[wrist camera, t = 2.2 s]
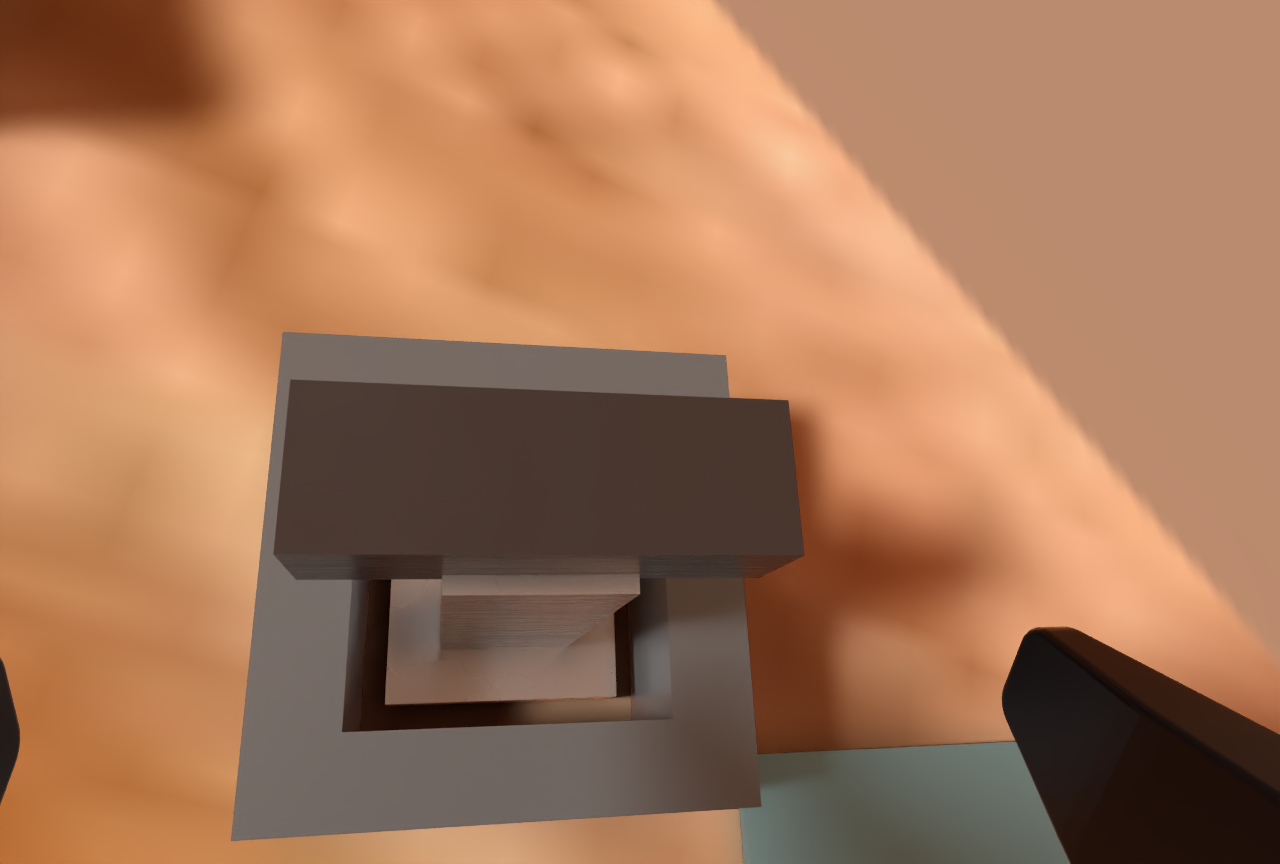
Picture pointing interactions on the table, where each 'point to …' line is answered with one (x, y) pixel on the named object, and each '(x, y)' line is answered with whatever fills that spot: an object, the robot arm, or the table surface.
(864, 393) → the table surface
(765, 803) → the key mat
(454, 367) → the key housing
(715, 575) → the t key
